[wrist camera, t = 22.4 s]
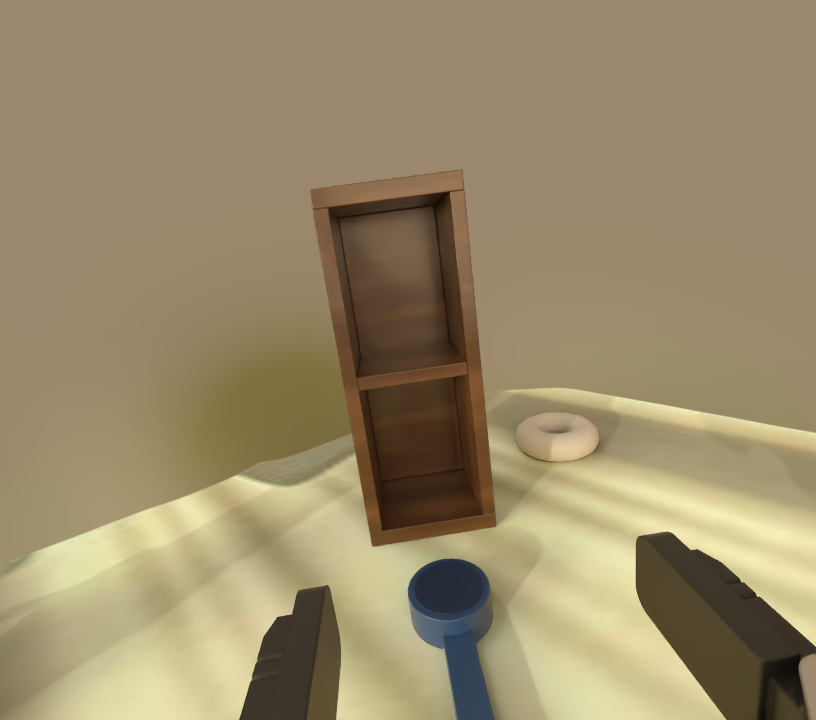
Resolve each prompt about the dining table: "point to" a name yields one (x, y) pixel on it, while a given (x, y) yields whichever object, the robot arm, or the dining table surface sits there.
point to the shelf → (409, 351)
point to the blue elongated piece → (455, 627)
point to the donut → (557, 436)
